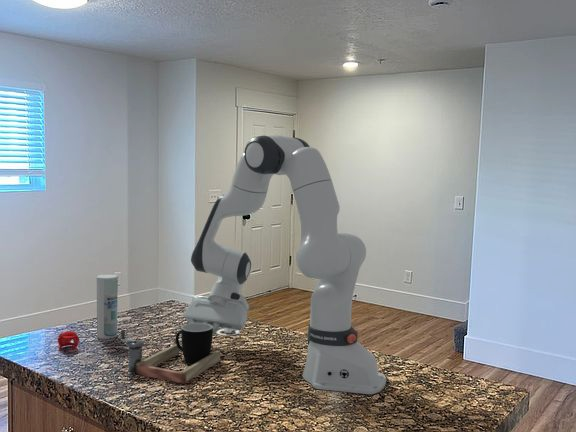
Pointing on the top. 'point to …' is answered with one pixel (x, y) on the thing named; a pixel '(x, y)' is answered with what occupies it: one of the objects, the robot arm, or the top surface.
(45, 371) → the top surface
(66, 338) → the cap
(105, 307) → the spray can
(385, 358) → the top surface
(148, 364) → the bay
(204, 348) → the mug
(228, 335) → the teacup and saucer
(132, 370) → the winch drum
